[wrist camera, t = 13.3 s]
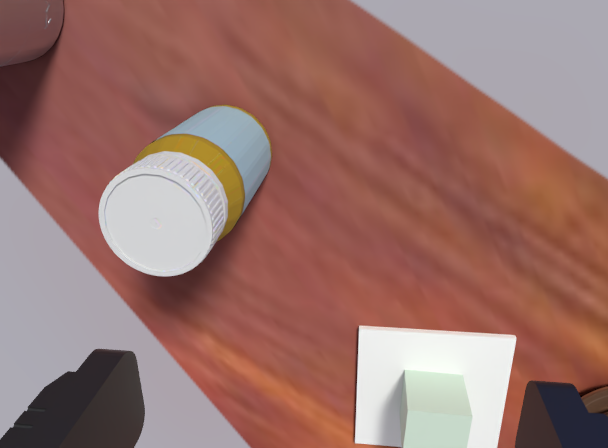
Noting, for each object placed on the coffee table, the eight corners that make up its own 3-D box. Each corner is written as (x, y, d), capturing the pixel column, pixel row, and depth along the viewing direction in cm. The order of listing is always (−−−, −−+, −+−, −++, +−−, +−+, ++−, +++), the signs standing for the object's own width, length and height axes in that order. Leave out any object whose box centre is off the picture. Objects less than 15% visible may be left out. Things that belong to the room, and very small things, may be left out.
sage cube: (399, 413, 48) (402, 457, 43) (404, 369, 46) (407, 410, 41) (455, 419, 47) (463, 463, 43) (462, 374, 45) (472, 416, 41)
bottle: (278, 188, 41) (231, 282, 28) (194, 193, 42) (108, 285, 29) (267, 99, 39) (208, 154, 25) (177, 107, 40) (74, 163, 26)
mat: (355, 438, 51) (354, 443, 50) (359, 325, 45) (359, 328, 45) (494, 451, 49) (495, 455, 49) (514, 334, 44) (516, 338, 43)
